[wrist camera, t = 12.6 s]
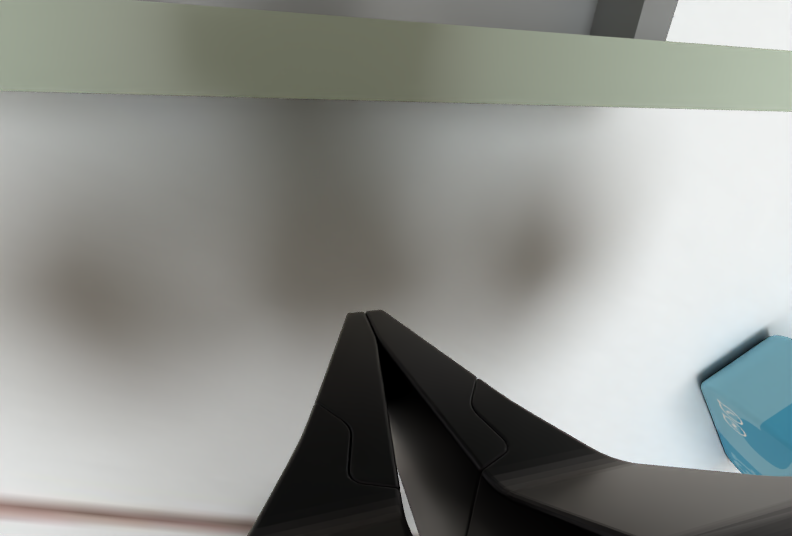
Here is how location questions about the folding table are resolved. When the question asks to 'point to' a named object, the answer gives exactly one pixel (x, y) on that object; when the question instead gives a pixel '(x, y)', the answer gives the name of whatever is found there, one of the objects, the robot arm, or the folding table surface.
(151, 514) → the folding table surface
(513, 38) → the tray
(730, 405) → the blue printed box
